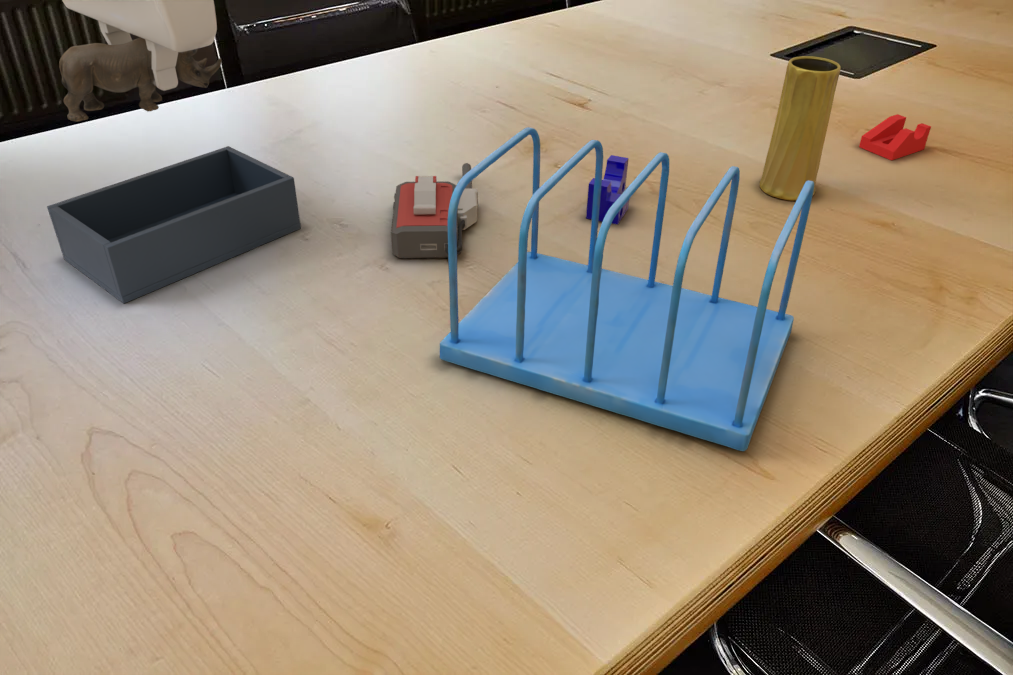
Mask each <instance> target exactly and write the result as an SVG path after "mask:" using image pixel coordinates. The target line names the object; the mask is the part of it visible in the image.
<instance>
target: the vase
mask: <svg viewBox="0 0 1013 675" xmlns="http://www.w3.org/2000/svg"><path fill="white" fill-rule="evenodd" d="M840 73H841V65H840V63H838V62H837V61H835V60H832V59H829V58H825V57H821V56H820V57H819V56H812V55H810V56H809V55H802V56H795V57H791V58H790V59H789V60H788V62H787V65H786V70H785V76H784V80H783V85H782V89H781V95H780V98H779V104H778V108H777V113H776V116H775V121H774V126H773V129H772V134H771V137H770V142H769V146H768V149H767V154H766V158H765V162H764V167H763V170H762V175H761V178H760V179H759V180H760V181H759V188H760V189H761V190H762V192H764V193H765V194H766V195H768V196H770V197H772V198H776V199H779V200H785V201H792V202H793V201H795V202H796V200H797V198H798V196H799V194H800V192H801V190H802V188H803V186H804V184H805V182H806V181H808V180H809V181H813V182H814V191H813V196H814V195H815V193H816V183H817V177H818V173H819V170H820V166H821V159H822V156H823V154H822V153H823V148H824V145H825V141H826V136H827V132H828V127H829V123H830V117H831V113H832V108H833V103H834V100H835V93H836V91H837V90H836V89H837V86H838V83H839V77H840V75H841V74H840Z"/></svg>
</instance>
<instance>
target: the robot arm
mask: <svg viewBox="0 0 1013 675" xmlns="http://www.w3.org/2000/svg"><path fill="white" fill-rule="evenodd" d="M61 2H63V4H64V6H65V7H66V8H67V9H68V10H71V11H73V12H75V13H78V14H81V15H83V16H85V17H87V18H91V19H93V20H96V21H98V25H99V30H100V32H101V34H102V36H103V37H104V38H103V39H104V40H105V42H106V44H108V45H119V44H125V43H128V42H130V41H132V40H133V39H132V36H131V35H133V36H135V37H137V38H139V37H141V38H143V39H145V41H146V45H147V49H148V50H149V51H151V52H152V66H151V67H147V69H148V74H149V76H150V82H151V84H152V85H153V86H155V87H156V88H157V89H158V90H161V91H163V92H165V91H169V90H173V89H175V88H177V87H178V86H179V79H178V78H177V74H176V69H175V66H176V62H177V57H178V52H185V51H189V50H194V49H198V50H199V49H201V48H205V47H208V46H211V45H213V43H214V41H215V38H216V34H217V30H218V25H217V15H216V6H215V1H214V0H61Z"/></svg>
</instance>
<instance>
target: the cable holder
mask: <svg viewBox="0 0 1013 675" xmlns="http://www.w3.org/2000/svg"><path fill="white" fill-rule="evenodd" d="M628 165H629V157H624V156H619V155H614V154H610V155H609V156H608V158H607V159H606V164H605V172H604V175H603V177H602V183H601V196H600V208H599V220H598V222H601V223H602V222H603V220H604V217H605V215H606V214H607V212H608V210H609V209H610V207H611V206H612V205H613V204H614V203H615V201H616V200H617V199H618V198H619V197H620V196H621V195H622V193H623V192H624V191H625V190H626V188H627V187H626V186H627V176H628V167H629V166H628ZM594 183H595V177H592V179H591V180H590V181H589V183H588V186H587V199H586V200H587V201H586V211H585V212H586V213H585V219H587V220H592V208H593V195H594ZM629 206H630V199H629V200H628V201H627V203H626V204H625V205H624V206H623V207H622V208H621V210H620V211H619V212H618V213H617V215H616V216H615V218H614V219H613V221H612V223H611V225H612V224H613V225H617V226H618V225H619V224H620V222H621V221H622V219H623V218H624V216H625V215H626V213H627V211H628V210H629Z"/></svg>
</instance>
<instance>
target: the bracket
mask: <svg viewBox="0 0 1013 675" xmlns="http://www.w3.org/2000/svg"><path fill="white" fill-rule="evenodd" d="M906 120H907V116H903V115H901V114H898V113H896V114H894V115H890V116H888V117H887V118H885V119H884V120H883V121H881V122H880V123H878V124H877V125H875V126H874V127H873V128H870V130H868V131H867V132H865V133H864V134H862V135H861V137H860V140H859V145H858V147H859V148H860V149H862V150H865V151H867V152H870V153H872V154H874V155H877V156H880V157H882V158H885V159H887V160H889V161H894V160H897V159H900V158H902V157H903V158H904V157H907V156H909V155H911V154H915V153H917V152H920V151H921V152H922V151H924V150H925V147H926V145H927V142H928V138H929V135H930V131H931V130H932V126H931V125H929V124H925V123H922V122H921V123H918V124H917V125H916V127H915V129H914V130H912V129H910V128H907V127H906V128H904V126H905V124H906Z"/></svg>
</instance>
